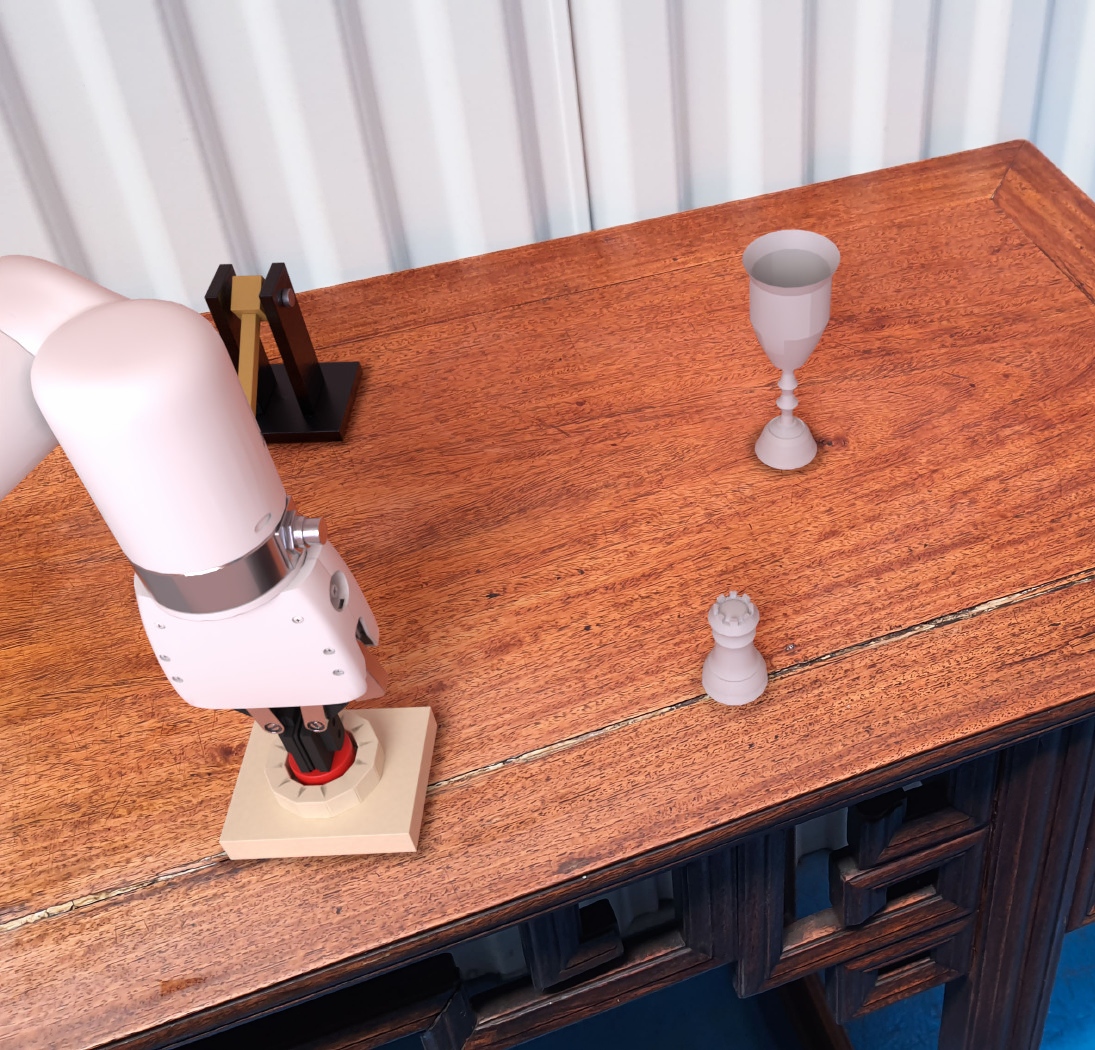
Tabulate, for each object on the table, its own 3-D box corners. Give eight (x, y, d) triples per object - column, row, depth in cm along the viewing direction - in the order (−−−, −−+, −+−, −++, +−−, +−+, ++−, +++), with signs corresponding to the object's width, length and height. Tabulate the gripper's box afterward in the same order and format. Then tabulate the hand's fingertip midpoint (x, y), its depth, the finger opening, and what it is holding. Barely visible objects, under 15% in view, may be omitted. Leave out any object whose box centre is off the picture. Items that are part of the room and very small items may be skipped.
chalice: (767, 409, 98) (770, 220, 85) (842, 433, 96) (856, 243, 83) (728, 463, 93) (724, 272, 80) (805, 489, 91) (814, 298, 78)
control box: (230, 860, 69) (207, 826, 67) (266, 732, 76) (247, 696, 73) (416, 852, 70) (402, 818, 67) (437, 725, 76) (425, 689, 73)
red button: (290, 794, 69) (282, 778, 68) (303, 742, 72) (295, 726, 71) (351, 791, 70) (344, 776, 68) (362, 740, 72) (355, 724, 71)
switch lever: (272, 473, 89) (256, 462, 85) (229, 475, 88) (211, 464, 85) (281, 289, 92) (266, 272, 89) (240, 291, 92) (223, 273, 89)
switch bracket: (342, 441, 95) (298, 312, 86) (218, 445, 95) (160, 316, 85) (363, 371, 101) (323, 244, 92) (246, 375, 101) (194, 247, 91)
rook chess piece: (761, 714, 77) (762, 639, 71) (695, 704, 77) (690, 629, 71) (773, 660, 80) (774, 584, 74) (709, 651, 80) (705, 574, 74)
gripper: (387, 482, 59) (456, 694, 72) (87, 493, 59) (212, 705, 72) (359, 595, 54) (439, 801, 67) (30, 609, 53) (176, 813, 67)
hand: (321, 751), depth 69 cm, fingers closed
